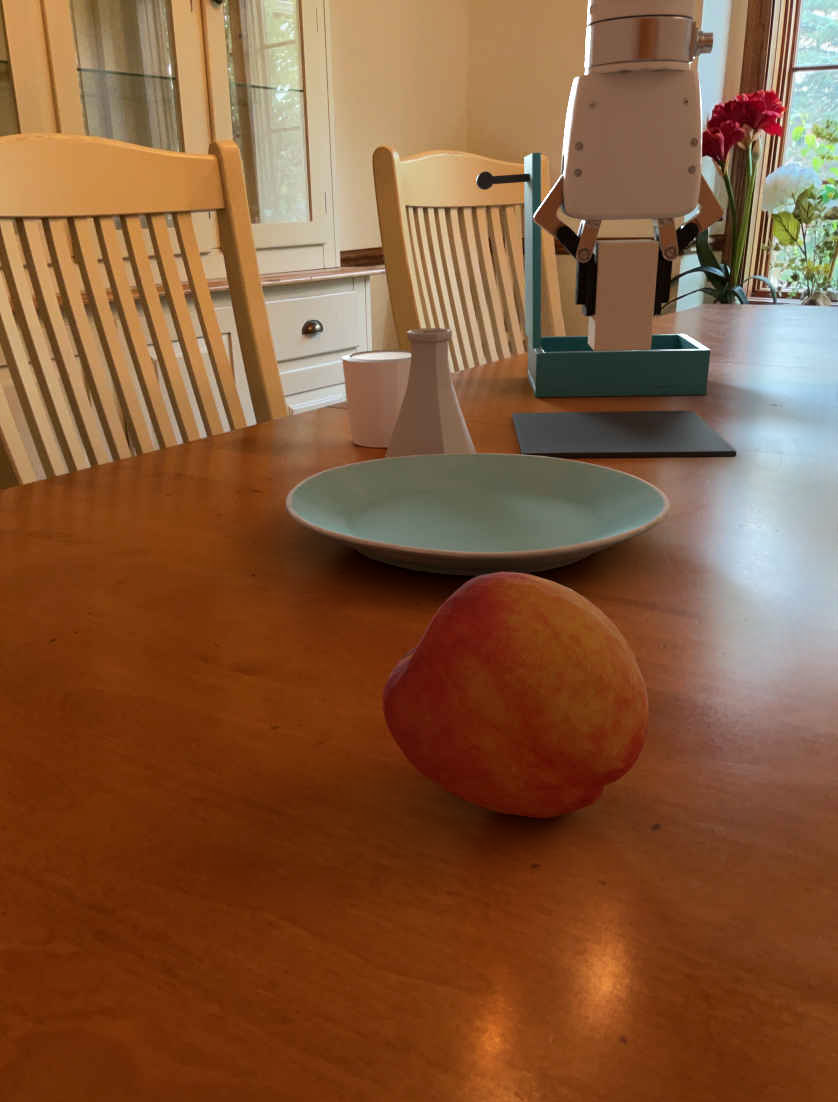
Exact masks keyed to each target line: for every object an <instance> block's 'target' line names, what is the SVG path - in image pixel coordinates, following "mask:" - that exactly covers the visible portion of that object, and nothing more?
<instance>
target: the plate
mask: <svg viewBox="0 0 838 1102" xmlns="http://www.w3.org/2000/svg"><path fill="white" fill-rule="evenodd" d="M284 504H285V510H286V513H287V514H288V515H289V517H290V518H291V519H292V520H293V521H294V522H296V523H297V524H299V526H301V527H302V528H304V529H306V530H309V531H310V532H312V533H315V534H318V535H320V536H323V537H325V538H328V539H329V540H331V541H334V542H336V543H338V544H340V545H342V546H344V547H347V548H350V549H352V550H355V551H357V552H358V553H360V554H362V555H364V556H365V557H367V558H369V559H372V560H375V561H377V562H381V563H383V564H387V565H390V566H394V567H399V568H403V569H407V570H411V571H412V570H413V571H418V572H425V573H431V574H440V575H441V574H442V575H443V574H444V575H451V576H475V577H477V576H480V575H485V574H491V573H497V572H513V573H524V574H529V573H536V572H537V573H538V572H544V571H549V570H552V569H557V568H561V567H564V566H568V565H572V564H574V563H576V562H579V561H581V560H583V559H586V558H588V557H589V556H590V555H593V554H594V553H597V552H600V551H603V550H606V549H608V548H611V547H612V546H615V545H618V544H619V543H621V542H624V541H627V540H630V539H633V538H635V537H638V536H640V535H642V534H644V533H646V532H649V531H650V530H652V529H654V528H655V527H657V526H658V525H660V524H661V523H662V522H663V521H664V520H665V519H666V517H668V514H669V513H670V511H671V509H670V508H671V503H670V500H669V499H668V497H667V495H666V494H665V493H664V492H663V491H662V490H661V489H660V488H658V487H657V486H655V485H654V484H652V483H651V482H648V481H646V480H645V479H642V478H640V477H638V476H635V475H633V474H630V473H628V472H624V471H622V470H618V469H615V468H611V467H607V466H603V465H600V464H594V463H589V462H585V461H579V460H573V459H569V458H553V457H545V456H534V455H522V454H521V453H520V454H518V453H495V452H494V453H492V452H490V453H488V452H485V453H484V452H480V453H479V452H476V453H454V454H429V455H413V456H402V457H392V458H385V457H384V458H383V457H382V458H377V459H376V458H375V459H369V460H364V461H357V462H353V463H348V464H344V465H339V466H336V467H331V468H329V469H325V470H323V471H319V472H317V473H315V474H313V475H310V476H308V477H306V478H305V479H302V481H300V482H299V483H297V484H296V485H294V487H293V488H292V489H291V490H290V491H289V493H288V494H287V496H286V498H285V503H284Z"/></svg>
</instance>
